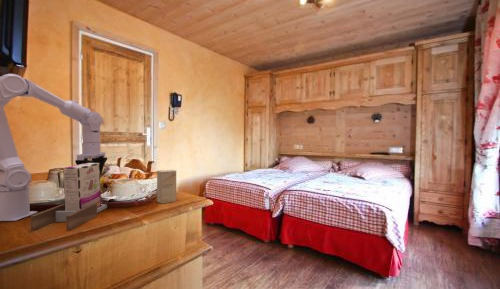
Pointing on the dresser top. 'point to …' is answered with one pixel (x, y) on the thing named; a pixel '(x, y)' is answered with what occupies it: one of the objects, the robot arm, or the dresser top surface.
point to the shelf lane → (71, 220)
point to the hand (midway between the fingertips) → (92, 176)
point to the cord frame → (62, 214)
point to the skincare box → (166, 186)
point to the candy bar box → (82, 186)
